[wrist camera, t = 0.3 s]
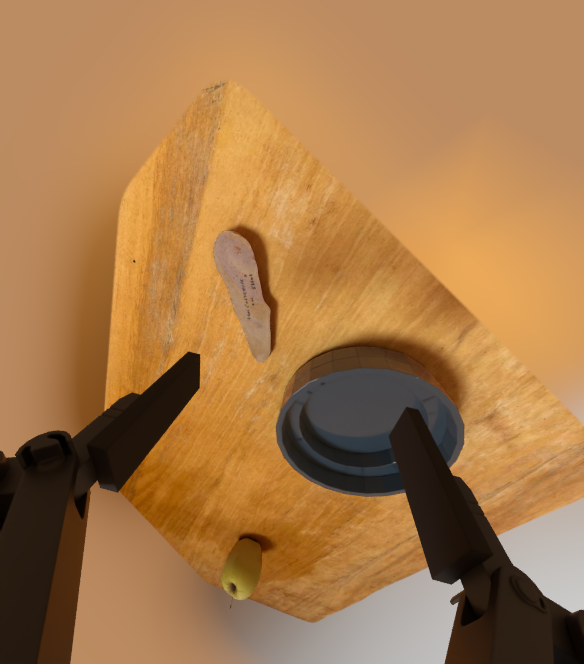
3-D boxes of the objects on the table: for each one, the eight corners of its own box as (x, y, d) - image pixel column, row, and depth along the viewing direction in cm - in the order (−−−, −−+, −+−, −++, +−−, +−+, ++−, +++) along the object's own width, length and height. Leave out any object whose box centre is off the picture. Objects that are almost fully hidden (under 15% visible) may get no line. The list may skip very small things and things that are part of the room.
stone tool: (285, 357, 27) (255, 224, 21) (280, 365, 26) (246, 225, 20) (251, 355, 29) (214, 234, 23) (244, 362, 28) (203, 235, 22)
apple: (273, 559, 50) (247, 625, 42) (244, 542, 53) (215, 600, 45) (267, 541, 46) (237, 608, 38) (237, 524, 50) (204, 582, 42)
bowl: (263, 360, 28) (251, 385, 24) (439, 327, 23) (466, 351, 19) (304, 464, 36) (301, 498, 31) (443, 456, 31) (463, 494, 27)
